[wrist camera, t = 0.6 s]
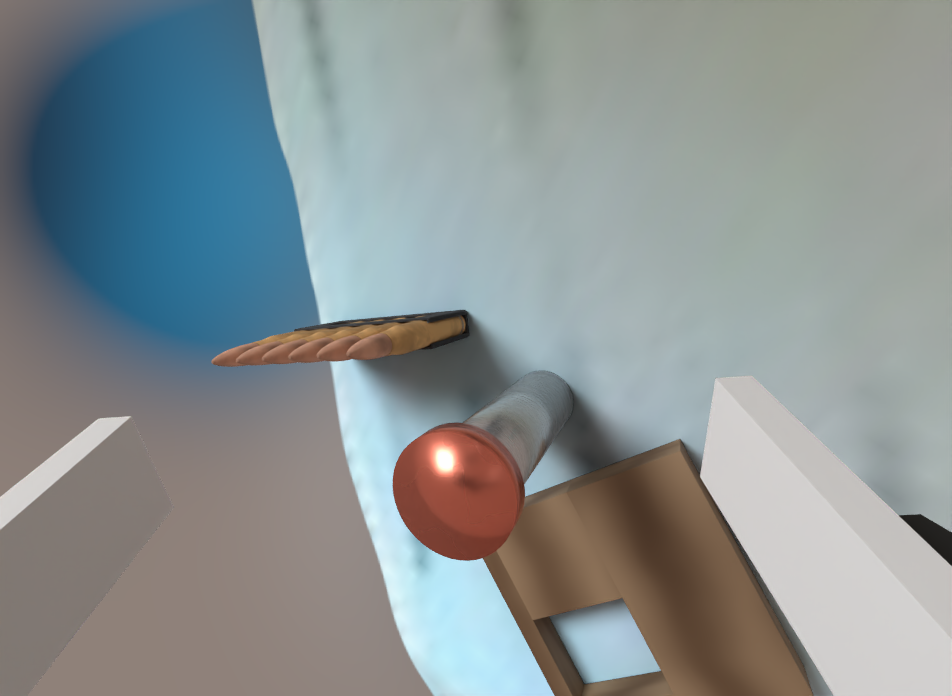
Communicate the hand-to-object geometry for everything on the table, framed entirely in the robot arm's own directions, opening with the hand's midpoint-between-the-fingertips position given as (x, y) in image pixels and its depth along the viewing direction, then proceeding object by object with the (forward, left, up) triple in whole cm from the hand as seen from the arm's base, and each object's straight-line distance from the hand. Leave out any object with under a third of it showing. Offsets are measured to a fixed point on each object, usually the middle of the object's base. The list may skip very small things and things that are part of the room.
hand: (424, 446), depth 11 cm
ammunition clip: (+11, -6, -21) cm, 24 cm away
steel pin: (+4, +3, -20) cm, 21 cm away
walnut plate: (+5, +16, -20) cm, 26 cm away
